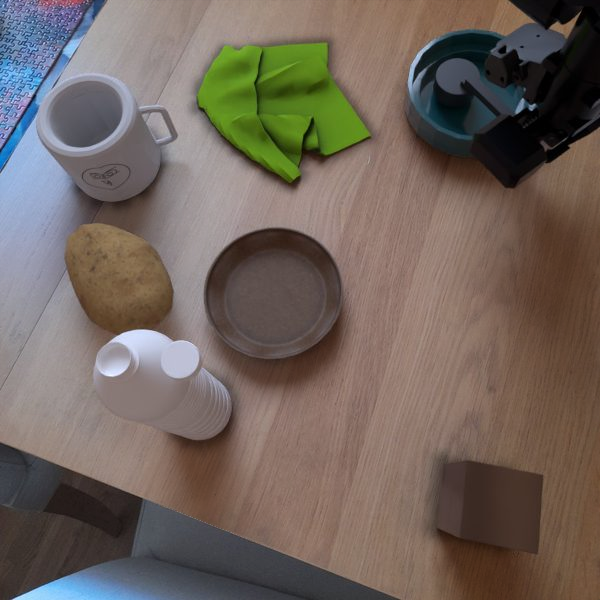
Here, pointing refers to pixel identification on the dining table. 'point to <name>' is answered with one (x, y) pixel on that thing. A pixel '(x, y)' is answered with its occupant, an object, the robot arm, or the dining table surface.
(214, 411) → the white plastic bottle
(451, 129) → the bowl
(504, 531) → the brown rectangular block
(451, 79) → the ladle
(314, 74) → the cloth
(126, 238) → the potato
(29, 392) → the dining table surface
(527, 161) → the robot arm
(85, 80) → the mug
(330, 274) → the saucer
